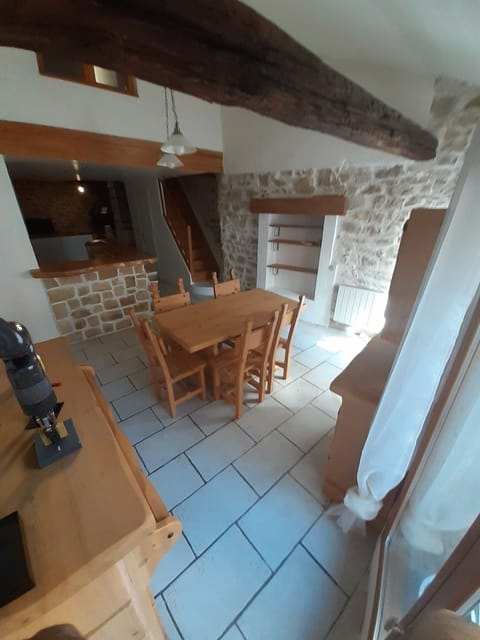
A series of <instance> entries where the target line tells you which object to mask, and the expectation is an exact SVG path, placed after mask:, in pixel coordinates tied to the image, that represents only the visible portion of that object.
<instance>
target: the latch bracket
mask: <svg viewBox="0 0 480 640" xmlns="http://www.w3.org/2000/svg"><path fill="white" fill-rule="evenodd" d="M64 405H65V401H60V402H57V403H56V405H55V406H54V407H53V410H54V414H55V419H56V420H57V419H58V417H59V415H60V413H61V411H62V408H63V407H64ZM37 428H41V426H40V424H38V423H37V421H36V416H31V418H30V420H29V421H28V422H27V425H26V426H25V427H24V430H25V431H27V430H32V429H37Z"/></svg>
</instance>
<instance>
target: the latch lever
mask: <svg viewBox="0 0 480 640" xmlns="http://www.w3.org/2000/svg"><path fill="white" fill-rule="evenodd" d="M50 383H51V385H52V387H53V388H57V387H62V385H63V383H62V382H61V381H59V382H50Z"/></svg>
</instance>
